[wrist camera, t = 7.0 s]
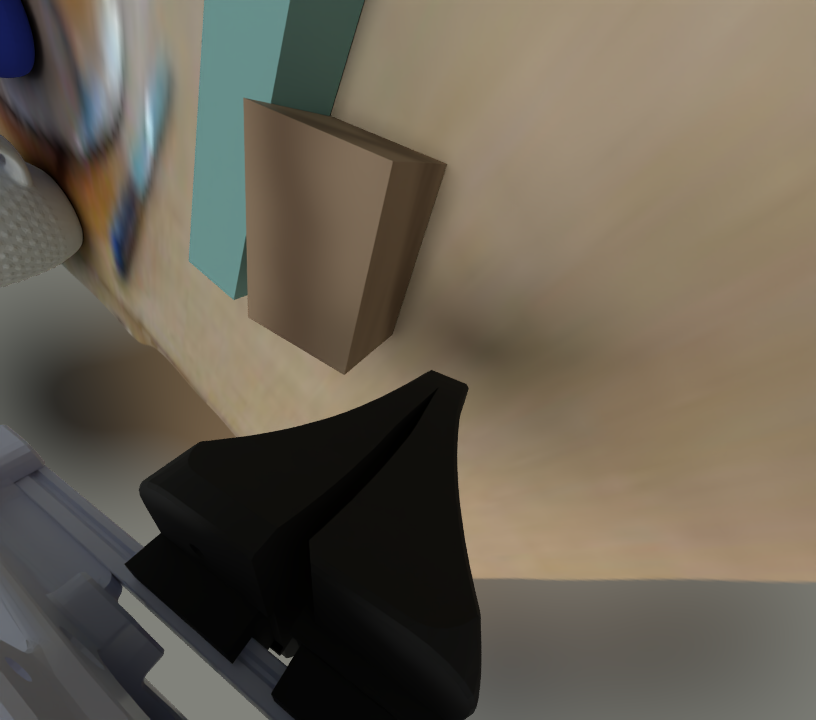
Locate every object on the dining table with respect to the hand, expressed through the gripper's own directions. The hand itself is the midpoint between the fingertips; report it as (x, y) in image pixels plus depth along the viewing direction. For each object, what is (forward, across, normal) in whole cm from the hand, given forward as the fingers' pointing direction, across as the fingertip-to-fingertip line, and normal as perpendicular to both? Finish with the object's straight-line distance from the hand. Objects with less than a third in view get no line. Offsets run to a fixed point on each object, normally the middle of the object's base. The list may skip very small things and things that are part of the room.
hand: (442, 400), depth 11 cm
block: (+7, +8, -2) cm, 10 cm away
